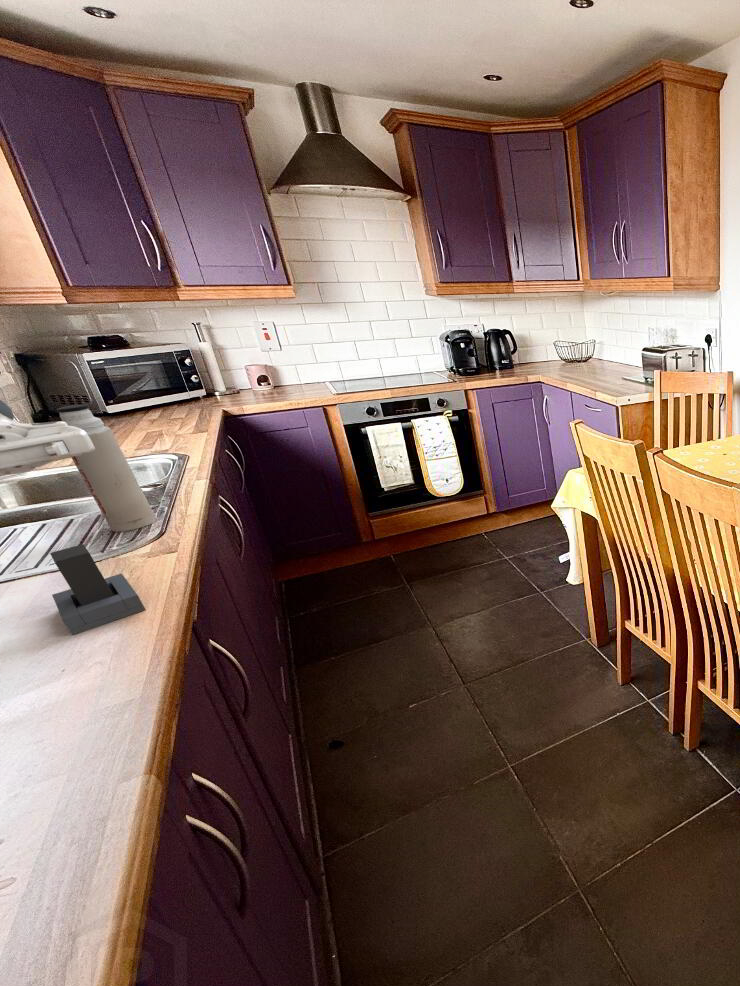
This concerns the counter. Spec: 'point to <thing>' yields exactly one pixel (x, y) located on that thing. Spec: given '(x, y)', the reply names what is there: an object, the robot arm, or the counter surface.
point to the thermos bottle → (108, 473)
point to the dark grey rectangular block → (82, 574)
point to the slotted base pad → (98, 606)
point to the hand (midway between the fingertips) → (13, 460)
